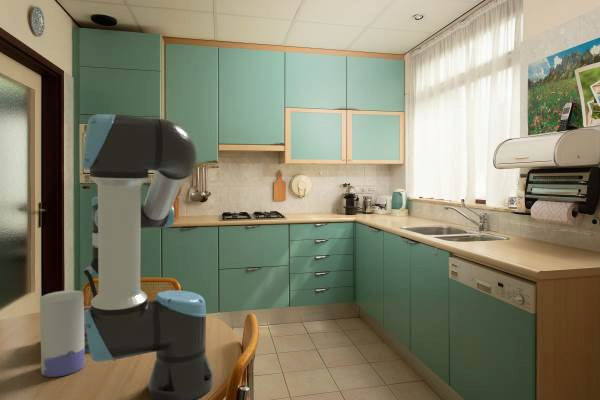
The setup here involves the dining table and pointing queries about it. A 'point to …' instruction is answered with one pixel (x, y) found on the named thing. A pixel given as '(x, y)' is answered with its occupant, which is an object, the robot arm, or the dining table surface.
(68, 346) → the container
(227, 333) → the dining table surface
